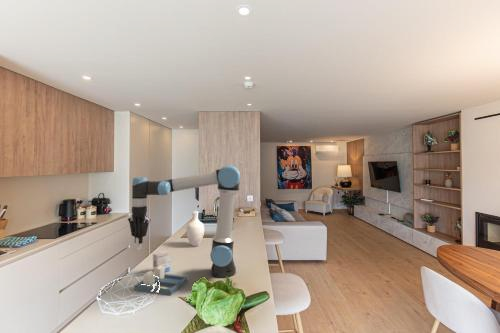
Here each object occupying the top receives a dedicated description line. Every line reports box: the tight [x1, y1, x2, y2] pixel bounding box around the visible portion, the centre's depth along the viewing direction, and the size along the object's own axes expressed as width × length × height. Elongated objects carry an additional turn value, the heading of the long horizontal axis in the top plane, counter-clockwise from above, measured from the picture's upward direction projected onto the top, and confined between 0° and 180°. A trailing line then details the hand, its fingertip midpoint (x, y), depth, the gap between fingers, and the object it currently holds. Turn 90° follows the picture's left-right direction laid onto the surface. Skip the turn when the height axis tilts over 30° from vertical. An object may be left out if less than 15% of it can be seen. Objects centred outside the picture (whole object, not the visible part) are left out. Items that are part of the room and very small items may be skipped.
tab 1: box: [142, 270, 155, 285], centre depth 130 cm, size 4×4×7 cm
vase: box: [185, 210, 205, 247], centre depth 202 cm, size 14×14×28 cm
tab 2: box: [154, 265, 164, 279], centre depth 138 cm, size 4×4×7 cm
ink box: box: [152, 250, 171, 274], centre depth 150 cm, size 9×5×12 cm, turn 141°
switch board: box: [133, 272, 189, 296], centre depth 133 cm, size 22×16×3 cm
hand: (138, 249), depth 133 cm, fingers closed
